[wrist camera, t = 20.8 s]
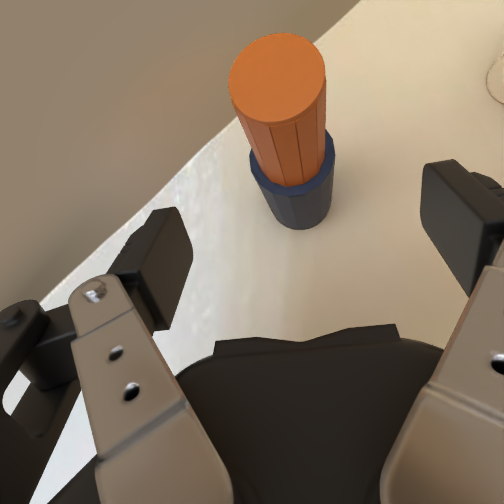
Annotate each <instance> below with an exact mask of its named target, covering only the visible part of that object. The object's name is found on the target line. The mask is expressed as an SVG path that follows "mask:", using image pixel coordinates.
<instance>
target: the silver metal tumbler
mask: <svg viewBox="0 0 504 504" xmlns="http://www.w3.org/2000/svg"><path fill="white" fill-rule="evenodd" d="M487 87H488V90H489V92H490V94H491V95H492V96H493V97H494V98H495V99H496V100H497V101H499V102H501V103H503V104H504V54H503V55H502V56H501V57H500V58H499V59H498V60H497V61H496V62H495V63H494V64H493V65H492V67H491V68H490V70H489V72H488V75H487Z"/></svg>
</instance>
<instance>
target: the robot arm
mask: <svg viewBox="0 0 504 504" xmlns="http://www.w3.org/2000/svg"><path fill="white" fill-rule="evenodd" d="M420 217H421V222H422V226H423V228H424V230H425V231H426V233H427V235H428V236H429V238H430V239H431V241H432V242H433V244H434V245H435V247H436V248H437V250H438V251H439V253H440V254H441V256H442V258H443V259H444V261H445V262H446V264H447V265H448V267H449V268H450V270H451V271H452V273H453V274H454V276H455V277H456V279H457V281H458V282H459V284H460V285H461V287H462V288H463V290H464V291H465V293H466V294H467V296H468V297H469V300H468V302H467V304H466V306H465V308H464V311H463V313H462V315H461V317H460V319H459V321H458V323H457V325H456V327H455V329H454V331H453V333H452V335H451V337H450V340H449V342H448V344H447V346H446V348H445V350H443V349H441V348H438V347H436V346H433V345H430V344H427V343H424V342H420V341H416V340H411V339H405V338H400V336H399V333H398V330H397V327H396V325H395V324H386V325H375V326H365V327H355V328H347V329H343V330H340V331H337V332H334V333H331V334H327V335H324V336H321V337H318V338H314V339H311V340H308V341H304V342H295V341H286V340H278V339H270V338H261V337H251V338H241V339H230V340H220V341H215V346H214V352H213V355H211V356H208V357H206V358H203V359H201V360H199V361H197V362H195V363H193V364H191V365H190V366H188V367H187V368H185V369H184V370H182V371H181V372H180V373H178V374H177V375H176V376H175V377H174V375H173V374H172V372H171V370H170V368H169V367H168V365H167V363H166V361H165V359H164V358H163V356H162V354H161V352H160V351H159V349H158V347H157V345H156V344H155V342H154V340H153V338H152V336H153V333H154V331H162V330H169V329H170V326H171V323H172V320H173V317H174V315H175V312H176V309H177V306H178V303H179V300H180V297H181V294H182V291H183V288H184V285H185V282H186V279H187V276H188V273H189V270H190V267H191V264H192V261H193V248H192V244H191V242H190V239H189V236H188V234H187V231H186V228H185V226H184V223H183V221H182V218H181V215H180V213H179V211H178V209H177V208H176V207H169V208H163V209H157V210H153V211H152V213H151V214H150V216H149V217H148V219H147V221H146V222H145V224H144V225H143V226H141V227H140V228H139V229H138V230H136V231H135V232H134V233H133V234H132V235H131V236H130V237H129V239H128V240H127V242H126V243H125V246H124V247H123V248H122V250H121V251H120V254H118V256H117V257H116V259H115V260H114V262H113V264H112V265H111V267H110V268H109V270H108V271H107V273H106V274H104V275H100V276H96V277H94V278H91V279H89V280H87V281H85V282H84V283H82V284H81V285H80V286H78V287H77V288H76V289H75V290H74V291H73V292H72V294H71V295H70V297H69V299H68V304H66V305H63V306H60V307H58V308H55V309H52V310H49V311H46V312H45V311H44V309H43V308H42V307H41V305H40V304H39V303H38V302H37V301H36V300H24V301H21V302H18V303H15V304H13V305H11V306H9V307H7V308H6V309H4V310H2V311H1V312H0V504H29V502H30V500H31V498H32V496H33V494H34V491H35V489H36V487H37V485H38V483H39V481H40V478H41V476H42V474H43V472H44V470H45V467H46V465H47V463H48V461H49V459H50V457H51V454H52V452H53V450H54V448H55V446H56V444H57V441H58V439H59V437H60V435H61V433H62V430H63V428H64V426H65V424H66V422H67V420H68V417H69V415H70V413H71V411H72V409H73V406H74V404H75V402H76V400H77V398H78V396H79V393H80V391H81V389H82V393H83V397H84V402H85V406H86V410H87V414H88V418H89V422H90V426H91V430H92V434H93V438H94V443H95V447H96V451H97V454H96V455H95V456H94V457H93V458H92V459H91V460H90V461H89V462H88V463H87V464H86V465H85V466H84V467H83V468H82V469H81V470H80V471H79V472H78V473H77V474H76V475H75V476H74V477H73V478H72V479H71V480H70V481H69V482H68V483H67V484H66V485H65V486H64V487H63V488H62V489H61V490H60V491H59V492H58V493H57V494H56V495H55V496H54V497H53V498H52V499H51V500H50V501H49V502H48V503H47V504H504V188H502V186H501V185H499V184H498V183H497V182H496V181H494V180H493V179H492V178H490V177H487V176H485V175H482V174H479V173H476V172H471V173H469V172H468V171H467V170H466V169H465V168H464V167H463V166H461V165H460V164H459V163H458V162H457V161H456V160H454V159H451V160H445V161H439V162H433V163H428V164H425V166H424V168H423V174H422V189H421V204H420ZM18 370H20V371H21V372H22V373H23V374H24V376H25V377H26V378H27V379H28V380H29V381H30V382H31V383H30V385H29V386H28V388H27V390H26V391H25V393H24V395H23V396H22V398H21V400H20V401H19V403H18V405H17V406H16V408H15V410H14V411H13V413H12V415H11V416H10V415H9V414H7V413H6V412H5V410H4V408H3V404H2V400H3V395H4V392H5V390H6V388H7V387H8V385H9V384H10V382H11V381H12V379H13V378H14V376H15V375H16V373H17V372H18Z"/></svg>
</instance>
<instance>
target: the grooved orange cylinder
mask: <svg viewBox="0 0 504 504" xmlns="http://www.w3.org/2000/svg"><path fill="white" fill-rule="evenodd" d="M229 91H230V96H231V100H232V104H233V106H234V109H235V111H236V113H237V116H238V118H239V120H240V122H241V125H242V127H243V129H244V132H245V134H246V136H247V138H248V141H249V143H250V145H251V147H252V150H253V152H254V154H255V157H256V159H257V161H258V163H259V166H260V168H261V170H262V171H263V173H264V174H265V175H266V176H267V177H268V179H269V180H270V181H271V182H274V183H276V184H279V185H282V186H285V187H290V186H296V185H302V184H305V183H306V182H307V181H309V180H310V179H311V178H313V177H314V176H315V175H316V174H318V172H319V170H320V168H321V165H322V163H323V161H324V158H325V122H326V76H325V65H324V61H323V58H322V56H321V54H320V52H319V51H318V49H317V48H316V47H315V46H314V45H313V44H312V43H311V42H310V41H308V40H307V39H305V38H303V37H301V36H298V35H294V34H289V33H277V34H271V35H268V36H264V37H262V38H260V39H258V40H256V41H254V42H252V43H251V44H250V45H248V46H247V47H246V48H245V49H244V50H243V51H242V52H241V53H240V54H239V55H238V57H237V58H236V60H235V62H234V63H233V66H232V68H231V71H230V75H229Z"/></svg>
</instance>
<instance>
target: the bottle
mask: <svg viewBox="0 0 504 504" xmlns="http://www.w3.org/2000/svg"><path fill="white" fill-rule="evenodd" d="M249 158H250V166H251V172H252V174H253V176H254V177H255V179H256V181H257V183H258V185H259V187H260V189H261V191H262V193H263V195H264V197H265V199H266V201H267V203H268V205H269V206H270V208H271V210H272V212H273V214H274V215H275V217H276V219H277V220H278V221H279V222H280V223H281V224H283V225H284V226H286V227H288V228H291V229H296V230H304V229H309V228H311V227H314V226H316V225H317V224H319V223H320V222H321V221H322V220H323V219H324V218H325V216H326V215H327V213H328V211H329V208H330V203H331V198H332V186H333V175H334V164H335V150H334V144H333V139H332V137H331V136H330V134H329V133H328V132H327V130H326V129H325V158H324V161H323V163H322V165H321V168H320V170H319V172H318V174H316V175H315V176H314V177H313V178H311V179H310V180H309V181H307V182H306V183H305V184H302V185H296V186H290V187H285V186H282V185H279V184H276V183H274V182H271V181H270V180H269V179H268V177H267V176H266V175H265V174H264V173H263V171H262V170H261V168H260V166H259V163H258V161H257V159H256V157H255V154H254V152H253V150H252V148H251V151H250V155H249Z"/></svg>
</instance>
